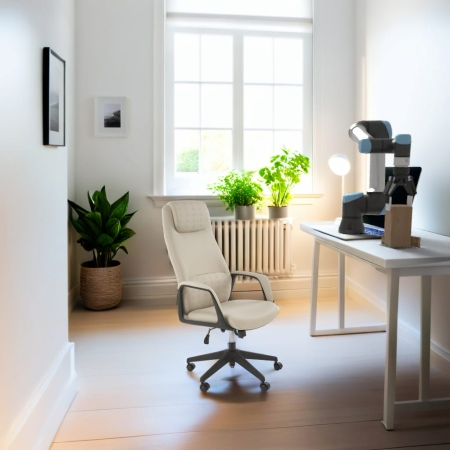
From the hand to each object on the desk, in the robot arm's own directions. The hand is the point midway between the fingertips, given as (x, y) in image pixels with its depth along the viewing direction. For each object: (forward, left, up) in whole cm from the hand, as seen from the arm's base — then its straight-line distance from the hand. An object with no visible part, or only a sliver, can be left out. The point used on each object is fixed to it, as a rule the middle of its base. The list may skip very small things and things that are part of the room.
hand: (398, 209), depth 245 cm
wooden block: (0, 0, -18) cm, 18 cm away
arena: (0, +1, -18) cm, 18 cm away
